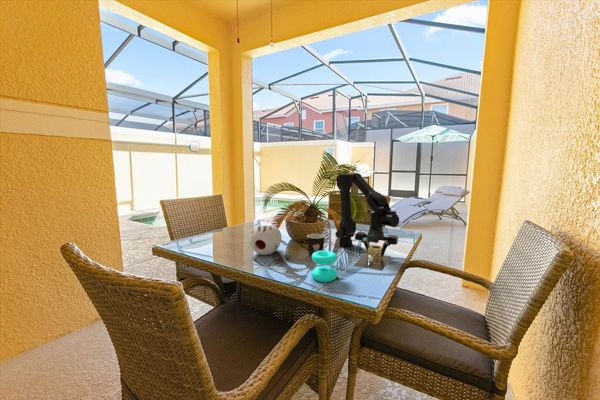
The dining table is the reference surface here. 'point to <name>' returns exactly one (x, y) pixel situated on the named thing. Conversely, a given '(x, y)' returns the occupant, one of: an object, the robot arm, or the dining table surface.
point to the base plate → (376, 263)
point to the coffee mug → (314, 243)
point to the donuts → (323, 272)
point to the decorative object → (265, 239)
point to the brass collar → (375, 251)
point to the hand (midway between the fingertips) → (375, 255)
